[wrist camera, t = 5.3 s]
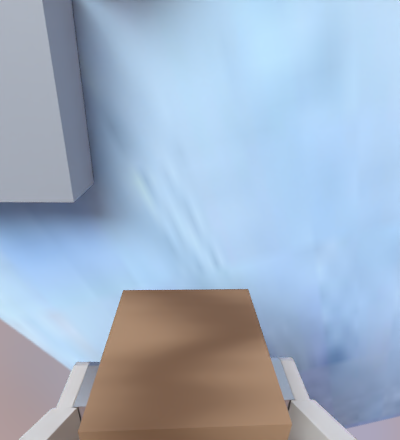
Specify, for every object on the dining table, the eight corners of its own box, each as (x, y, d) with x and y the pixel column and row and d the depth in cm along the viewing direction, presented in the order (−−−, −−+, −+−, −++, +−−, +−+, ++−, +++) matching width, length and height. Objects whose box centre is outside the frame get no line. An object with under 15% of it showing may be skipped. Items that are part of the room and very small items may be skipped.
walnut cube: (247, 289, 11) (292, 423, 6) (237, 372, 13) (265, 519, 9) (123, 290, 11) (77, 432, 6) (132, 375, 13) (103, 529, 8)
